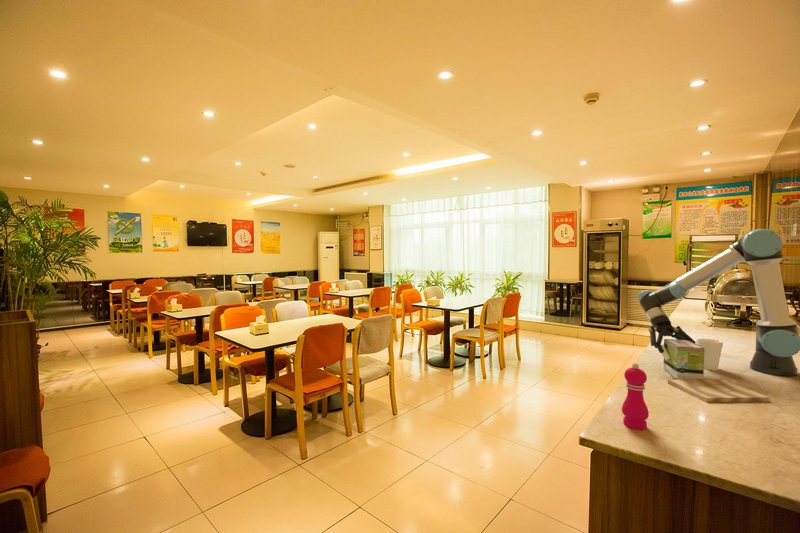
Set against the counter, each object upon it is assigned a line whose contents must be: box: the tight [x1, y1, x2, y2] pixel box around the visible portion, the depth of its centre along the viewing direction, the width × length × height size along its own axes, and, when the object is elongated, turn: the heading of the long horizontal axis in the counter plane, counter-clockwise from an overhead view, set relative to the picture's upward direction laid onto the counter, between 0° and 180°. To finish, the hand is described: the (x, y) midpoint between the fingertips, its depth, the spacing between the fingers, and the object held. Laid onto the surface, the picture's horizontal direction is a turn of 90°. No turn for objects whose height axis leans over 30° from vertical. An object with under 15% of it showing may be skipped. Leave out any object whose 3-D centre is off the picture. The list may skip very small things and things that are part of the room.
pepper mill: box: [621, 362, 650, 431], centre depth 115 cm, size 7×7×20 cm
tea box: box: [662, 338, 705, 380], centre depth 160 cm, size 15×10×15 cm, turn 163°
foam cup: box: [695, 337, 724, 371], centre depth 169 cm, size 10×9×13 cm
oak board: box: [667, 378, 771, 403], centre depth 141 cm, size 23×19×2 cm
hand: (682, 359), depth 161 cm, fingers closed on tea box, 12 cm apart
